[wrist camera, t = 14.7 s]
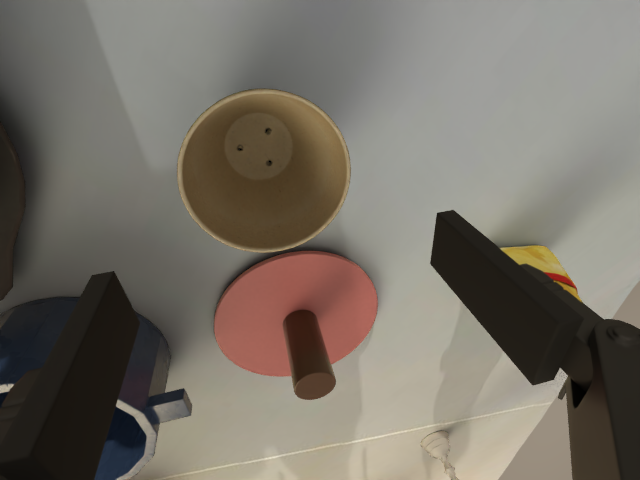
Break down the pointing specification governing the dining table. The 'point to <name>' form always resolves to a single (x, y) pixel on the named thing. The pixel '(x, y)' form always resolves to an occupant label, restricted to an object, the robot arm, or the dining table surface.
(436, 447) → the chalice
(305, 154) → the flower pot
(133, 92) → the dining table surface
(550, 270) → the chocolate bunny
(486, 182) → the dining table surface
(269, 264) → the lid
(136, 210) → the dining table surface
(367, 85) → the dining table surface
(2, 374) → the pot
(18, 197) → the casserole
